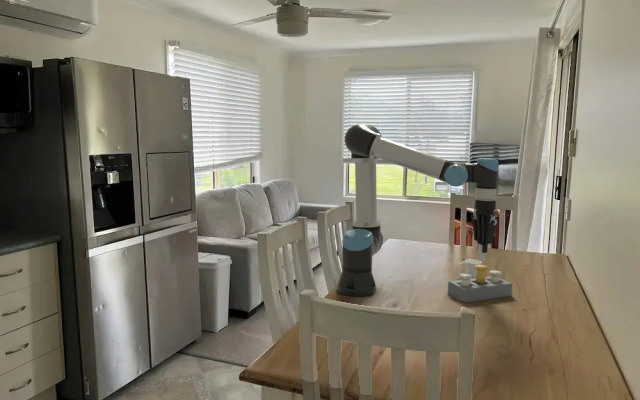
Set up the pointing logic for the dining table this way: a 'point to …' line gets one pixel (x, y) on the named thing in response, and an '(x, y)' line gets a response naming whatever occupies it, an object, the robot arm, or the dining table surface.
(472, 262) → the cup
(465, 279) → the near plug
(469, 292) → the board
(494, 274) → the far plug
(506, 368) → the dining table surface
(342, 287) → the robot arm
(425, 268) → the dining table surface
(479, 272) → the ochre plug
